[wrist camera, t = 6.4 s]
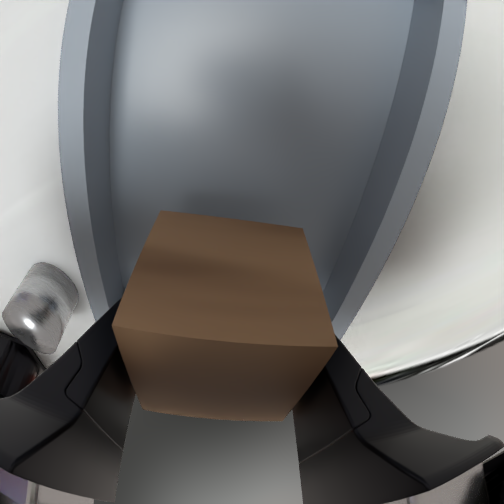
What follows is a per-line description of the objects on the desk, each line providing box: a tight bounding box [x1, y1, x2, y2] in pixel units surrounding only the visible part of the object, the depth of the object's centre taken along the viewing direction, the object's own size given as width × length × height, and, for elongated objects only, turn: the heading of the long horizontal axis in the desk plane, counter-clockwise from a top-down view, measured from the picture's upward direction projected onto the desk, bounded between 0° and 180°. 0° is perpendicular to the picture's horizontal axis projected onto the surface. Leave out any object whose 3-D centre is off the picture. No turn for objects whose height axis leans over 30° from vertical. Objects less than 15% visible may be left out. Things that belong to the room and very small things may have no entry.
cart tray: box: [58, 0, 467, 340], centre depth 9 cm, size 18×13×3 cm
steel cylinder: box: [2, 262, 79, 354], centre depth 13 cm, size 4×4×4 cm
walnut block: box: [112, 210, 338, 421], centre depth 8 cm, size 4×4×4 cm
